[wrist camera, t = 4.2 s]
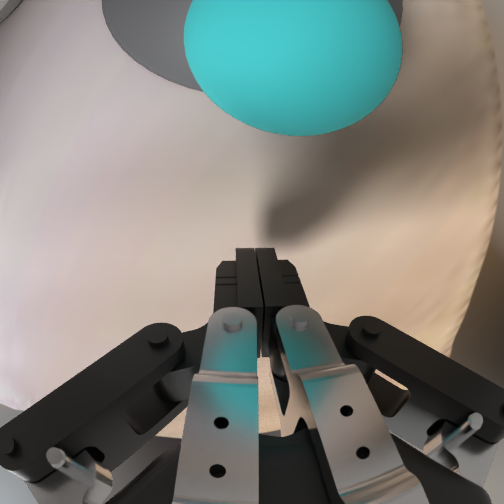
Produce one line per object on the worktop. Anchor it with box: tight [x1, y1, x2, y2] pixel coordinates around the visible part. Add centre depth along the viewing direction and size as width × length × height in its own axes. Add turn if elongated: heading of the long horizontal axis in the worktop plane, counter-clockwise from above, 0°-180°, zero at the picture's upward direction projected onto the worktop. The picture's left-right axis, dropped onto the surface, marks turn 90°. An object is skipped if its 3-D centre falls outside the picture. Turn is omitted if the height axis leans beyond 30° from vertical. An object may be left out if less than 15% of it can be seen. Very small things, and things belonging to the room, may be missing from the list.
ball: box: [184, 0, 402, 136], centre depth 6 cm, size 6×6×6 cm
